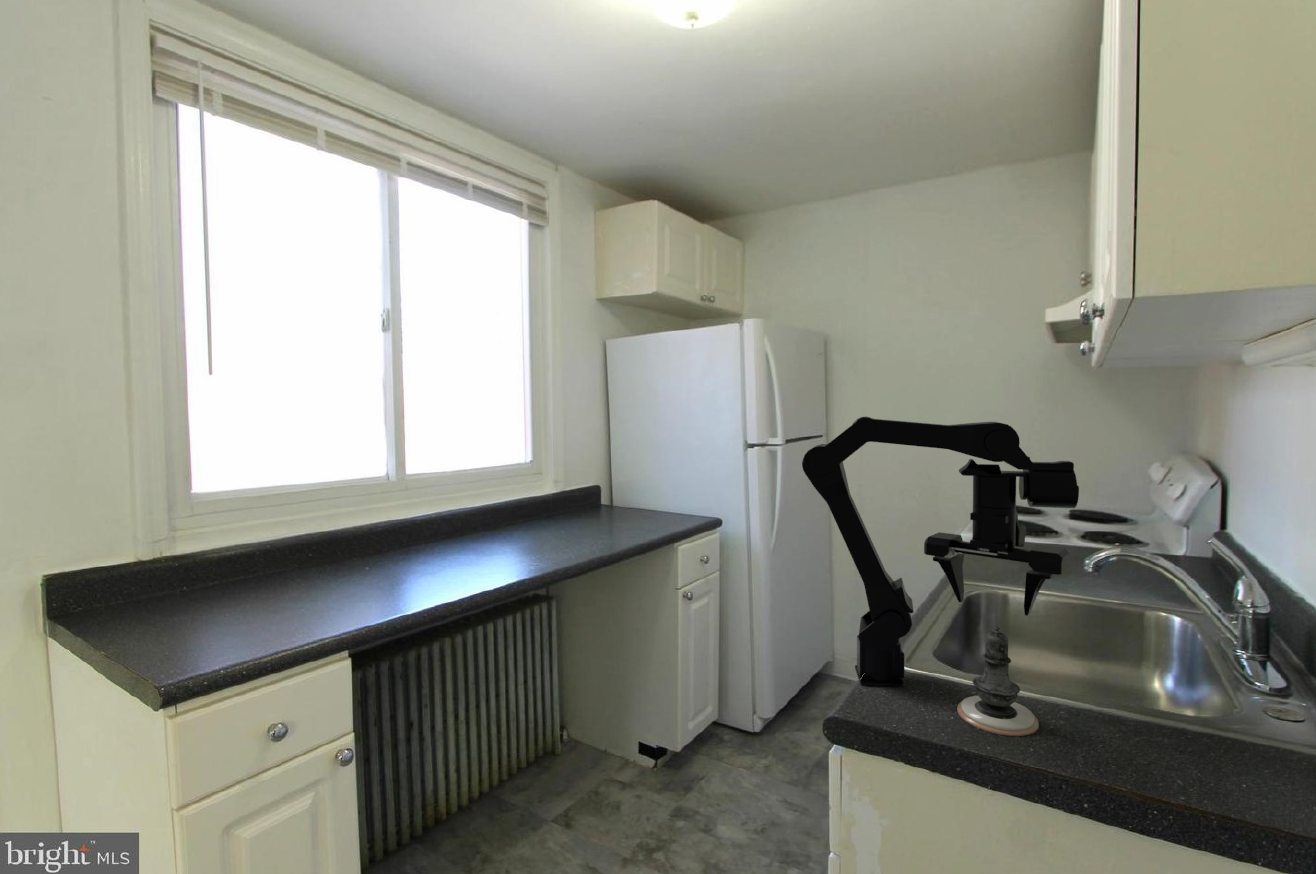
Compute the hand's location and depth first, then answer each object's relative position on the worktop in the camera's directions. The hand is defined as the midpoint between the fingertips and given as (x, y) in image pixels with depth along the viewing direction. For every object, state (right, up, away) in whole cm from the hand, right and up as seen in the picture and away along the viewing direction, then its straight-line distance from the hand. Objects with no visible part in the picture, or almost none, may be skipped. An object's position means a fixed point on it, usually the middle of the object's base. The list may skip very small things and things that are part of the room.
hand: (992, 608), depth 95 cm
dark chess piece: (-3, -13, -7) cm, 15 cm away
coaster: (-3, -13, -7) cm, 15 cm away
